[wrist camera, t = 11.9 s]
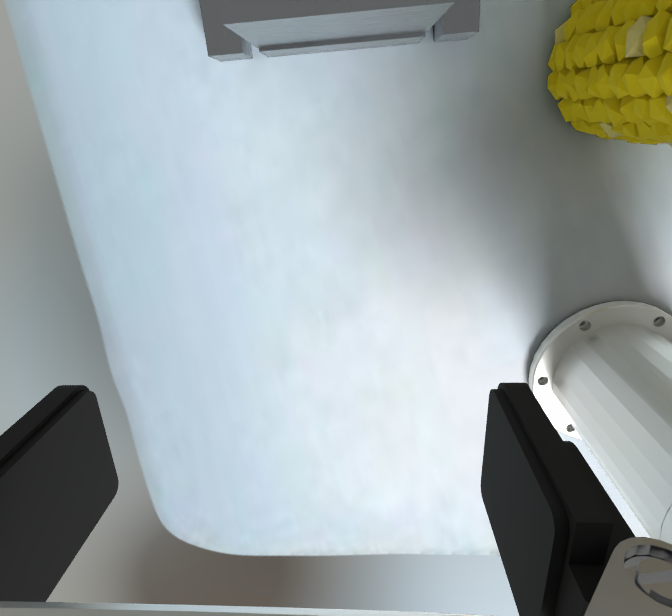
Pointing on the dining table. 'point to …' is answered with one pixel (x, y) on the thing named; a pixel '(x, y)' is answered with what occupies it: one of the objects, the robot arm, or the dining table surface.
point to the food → (615, 69)
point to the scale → (329, 24)
